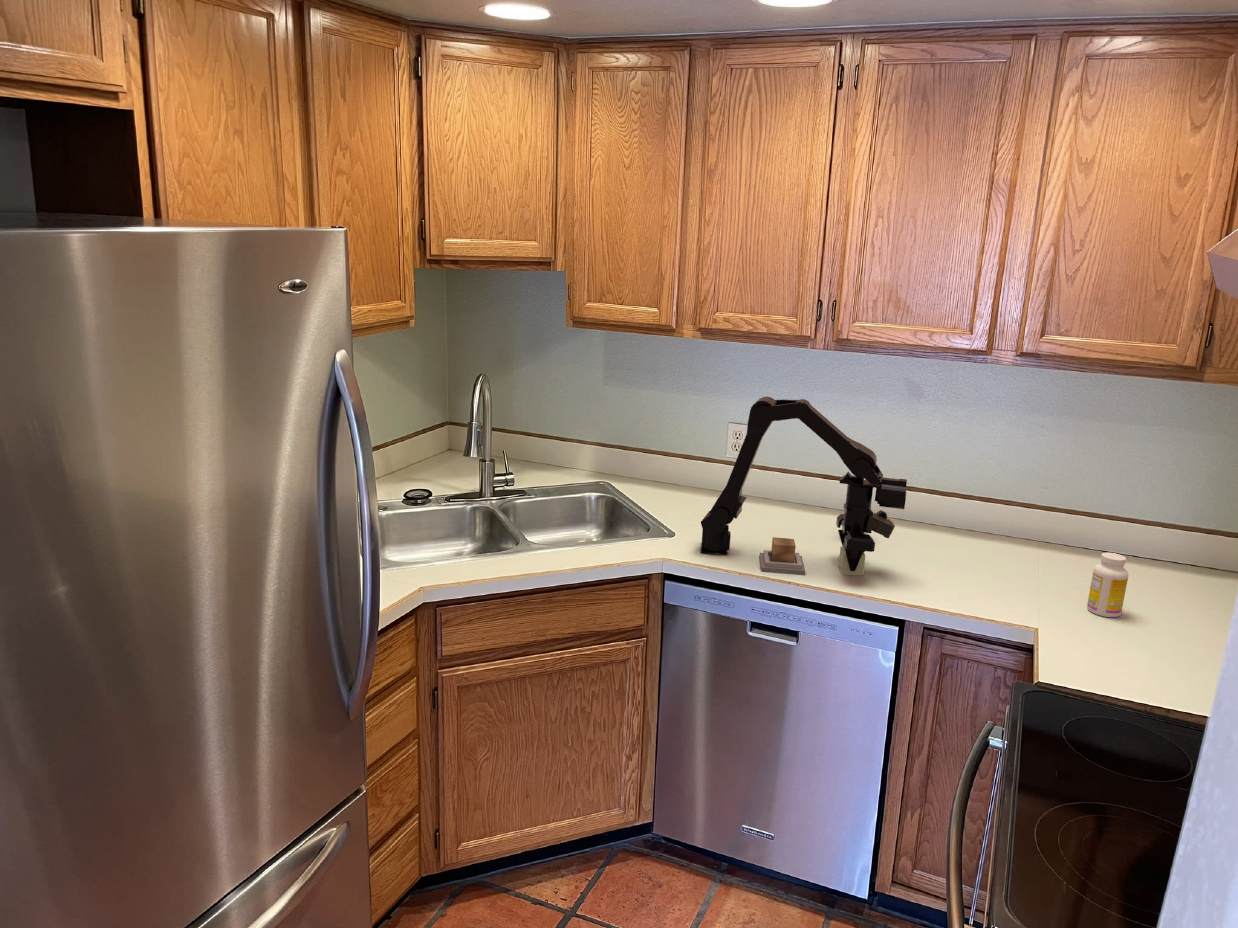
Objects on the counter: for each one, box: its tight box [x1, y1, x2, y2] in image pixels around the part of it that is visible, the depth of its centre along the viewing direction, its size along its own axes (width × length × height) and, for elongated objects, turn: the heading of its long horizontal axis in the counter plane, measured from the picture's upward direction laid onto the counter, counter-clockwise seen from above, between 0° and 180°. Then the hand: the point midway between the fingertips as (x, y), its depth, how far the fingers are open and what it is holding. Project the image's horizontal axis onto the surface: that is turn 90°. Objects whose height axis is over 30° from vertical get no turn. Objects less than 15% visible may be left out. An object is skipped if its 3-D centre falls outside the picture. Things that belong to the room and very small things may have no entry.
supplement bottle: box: [1086, 552, 1129, 618], centre depth 196 cm, size 7×7×13 cm
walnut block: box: [770, 536, 797, 563], centre depth 215 cm, size 5×5×5 cm
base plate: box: [759, 549, 806, 576], centre depth 216 cm, size 10×10×2 cm
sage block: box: [837, 546, 866, 577], centre depth 214 cm, size 5×5×5 cm
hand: (850, 566), depth 214 cm, fingers closed on sage block, 5 cm apart
